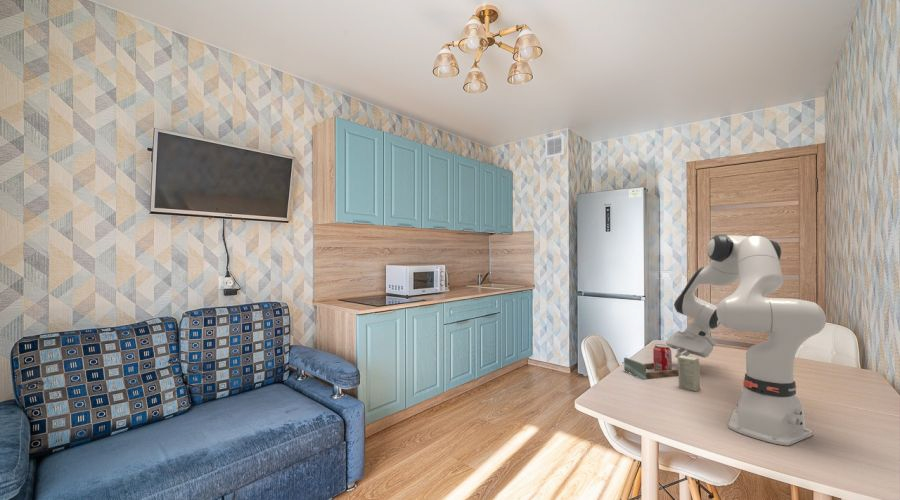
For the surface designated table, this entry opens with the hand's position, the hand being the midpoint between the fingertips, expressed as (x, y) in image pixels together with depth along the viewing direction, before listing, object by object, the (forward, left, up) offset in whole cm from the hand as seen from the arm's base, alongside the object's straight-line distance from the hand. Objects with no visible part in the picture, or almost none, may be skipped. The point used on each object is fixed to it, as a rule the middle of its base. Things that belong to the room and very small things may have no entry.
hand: (678, 357), depth 166 cm
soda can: (-8, +3, -6) cm, 11 cm away
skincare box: (-21, -12, -6) cm, 25 cm away
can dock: (-14, +6, -6) cm, 16 cm away
